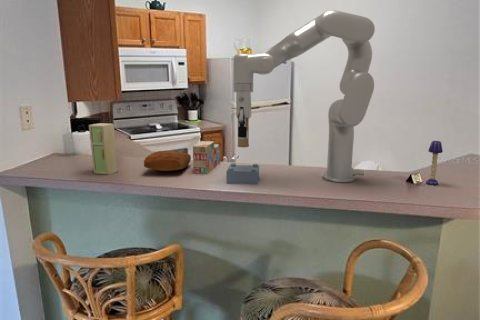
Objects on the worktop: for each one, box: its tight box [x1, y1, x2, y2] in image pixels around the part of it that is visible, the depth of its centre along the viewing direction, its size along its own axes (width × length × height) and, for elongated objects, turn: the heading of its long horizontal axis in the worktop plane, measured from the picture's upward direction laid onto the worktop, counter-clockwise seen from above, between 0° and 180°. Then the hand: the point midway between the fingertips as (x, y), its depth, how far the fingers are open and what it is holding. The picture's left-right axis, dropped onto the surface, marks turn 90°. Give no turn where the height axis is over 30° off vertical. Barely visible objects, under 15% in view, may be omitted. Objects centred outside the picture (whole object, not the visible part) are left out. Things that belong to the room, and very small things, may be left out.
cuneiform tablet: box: [143, 150, 192, 172], centre depth 155 cm, size 22×17×8 cm
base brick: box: [225, 162, 260, 185], centre depth 139 cm, size 12×10×6 cm
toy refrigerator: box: [88, 122, 119, 175], centre depth 150 cm, size 8×7×21 cm
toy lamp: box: [425, 140, 444, 187], centre depth 132 cm, size 5×5×17 cm
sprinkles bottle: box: [237, 115, 250, 148], centre depth 135 cm, size 5×5×13 cm
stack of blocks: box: [192, 140, 221, 175], centre depth 158 cm, size 21×6×12 cm, turn 168°
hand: (243, 135), depth 136 cm, fingers closed on sprinkles bottle, 4 cm apart
